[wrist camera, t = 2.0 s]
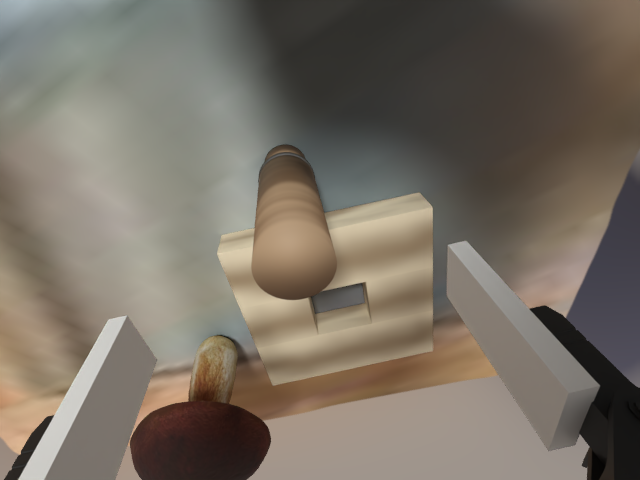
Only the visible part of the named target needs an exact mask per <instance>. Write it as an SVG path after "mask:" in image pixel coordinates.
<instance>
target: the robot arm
mask: <svg viewBox="0 0 640 480" xmlns="http://www.w3.org/2000/svg"><path fill="white" fill-rule="evenodd" d="M447 297H448V299H449V300H450V302H451V303H452V305H453V306H454V308H455V309H456V311H457V312H458V314H459V315H460V317H461V319H462V320H463V322H464V323H465V325H466V326H467V328H468V329H469V331H470V332H471V334H472V335H473V337H474V338H475V340H476V341H477V343H478V344H479V346H480V347H481V349H482V351H483V352H484V354H485V355H486V357H487V358H488V360H489V361H490V363H491V364H492V366H493V367H494V369H495V370H496V372H497V373H498V375H499V376H500V378H501V379H502V381H503V382H504V384H505V386H506V387H507V388H508V390H509V391H510V393H511V395H512V396H513V398H514V399H515V400H516V402H517V404H518V405H519V407H520V408H521V410H522V411H523V413H524V414H525V416H526V417H527V419H528V421H529V422H530V423H531V425H532V427H533V428H534V429H535V431H536V433H537V434H538V436H539V437H540V439H541V440H542V442H543V443H544V445H545V446H546V448H547V449H548V451H551V450H555V449H560V448H564V447H569V446H573V445H575V444H576V442H577V439H578V437H579V434H580V435H581V436H582V437H583V438H584V440H585V441H586V442H587V444H588V445H589V446H590V448H589V450H588V452H587V454H586V456H585V458H584V461H583V464H582V466H583V467H586V468H587V466H588V468H587V480H640V388H638V387H636V386H635V385H634V384H632V383H631V382H630V381H629V380H628V379H627V378H626V377H625V376H624V375H623V374H622V373H621V372H620V371H619V370H618V369H617V368H616V367H615V366H614V365H613V364H612V363H611V362H610V361H609V360H607V358H606V357H605V356H604V355H602V354H601V353H600V352H599V351H598V350H597V349H596V348H595V347H594V346H593V345H592V344H591V343H590V342H589V341H587V340H586V338H585V337H584V336H583V335H582V334H581V333H580V332H579V331H578V330H576V329H575V327H574V326H573V325H572V324H571V323H570V322H569V321H568V320H567V319H566V318H565V317H564V316H563V315H561V314H560V313H558V312H556V311H554V310H552V309H551V308H549V307H547V306H540V307H536V308H531V309H529V308H528V307H527V306H526V305H525V304H524V303H523V302H522V301H521V300H520V298H519V297H518V296H517V295H516V294H515V293H514V292H513V291H512V290H511V289H510V288H509V287H508V285H507V284H506V283H505V282H504V281H503V280H502V279H501V278H500V277H499V276H498V275H497V273H496V272H495V271H494V270H493V269H492V268H491V267H490V266H489V265H488V264H487V263H486V262H485V260H484V259H483V258H482V257H481V256H480V255H479V254H478V253H477V252H476V251H475V250H474V249H473V247H472V246H471V245H470V244H469V243H468V242H467V241H463V242H458V243H454V244H449V245H448V253H447ZM156 361H157V359H156V357H155V356H154V354H153V353H152V351H151V350H150V348H149V347H148V346H147V344H146V343H145V341H144V340H143V338H142V337H141V335H140V334H139V332H138V331H137V329H136V328H135V326H134V325H133V323H132V322H131V320H130V319H129V317H128V316H123V317H118V318H113V319H109V320H108V321H107V323H106V325H105V327H104V328H103V330H102V332H101V334H100V336H99V337H98V339H97V341H96V343H95V344H94V346H93V348H92V350H91V351H90V353H89V355H88V357H87V359H86V360H85V362H84V364H83V366H82V367H81V369H80V371H79V373H78V375H77V376H76V378H75V380H74V382H73V383H72V385H71V387H70V389H69V390H68V392H67V394H66V396H65V398H64V399H63V401H62V403H61V405H60V406H59V408H58V410H57V412H56V414H55V415H53V416H48V417H46V418H45V419H44V421H43V422H42V423H41V424H40V425H39V426H38V427H37V428H36V429H35V430H34V432H33V433H32V434H31V435H30V437H29V439H28V440H27V442H26V444H25V445H24V447H23V449H22V450H21V455H19V456H18V457H17V459H16V461H15V462H14V464H13V466H12V470H11V471H9V472H8V474H7V476H6V478H5V479H4V480H115V479H116V476H117V473H118V471H119V468H120V465H121V462H122V459H123V456H124V453H125V451H126V448H127V445H128V442H129V439H130V436H131V433H132V430H133V428H134V425H135V422H136V419H137V416H138V413H139V410H140V407H141V405H142V402H143V399H144V396H145V393H146V390H147V387H148V384H149V382H150V379H151V376H152V373H153V370H154V367H155V364H156Z"/></svg>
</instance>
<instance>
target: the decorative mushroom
mask: <svg viewBox="0 0 640 480" xmlns="http://www.w3.org/2000/svg"><path fill="white" fill-rule="evenodd" d="M237 356H238V354H237V351H236V347H235V345H234V343H233V342H232V341H231V340H230V339H228V338H226V337H223V336H212V337H209V338H208V339H206V340H205V341H204V342H203V343H202V344H201V345H200V347H199V349H198V350H197V353H196V356H195V360H194V364H193V370H192V376H191V382H190V389H189V401H188V402H182V403H175V404H171V405H168V406H165V407H162V408H160V409H157V410H155V411H153V412H151V413H150V414H149V415H147V416H146V417H145V418H144V419H143V420H142V421H141V423H140V424H139V425H138V426H137V428H136V430H135V431H134V433H133V435H132V437H131V440H130V448H131V454H132V459H133V464H134V467H135V470H136V471H137V473H138V475H139V477H140V478H141V479H142V480H247V479H248V478H249V477H250V476H252V475H253V474H254V472H255V471H256V470H257V469H258V468H259V466H260V464H261V463H262V461H263V460H264V457H265V456H266V454H267V452H268V449H269V446H270V443H271V437H270V432H269V429H268V427H267V426H266V424H265V423H264V422H263V421H262V420H261V419H259V418H258V417H257V416H255V415H253V414H252V413H250V412H248V411H246V410H245V409H242V408H240V407H237V406H234V405H231V404H229V402H230V398H231V394H232V389H233V384H234V380H235V374H236V366H237Z"/></svg>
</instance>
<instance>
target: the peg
mask: <svg viewBox="0 0 640 480" xmlns="http://www.w3.org/2000/svg"><path fill="white" fill-rule="evenodd" d="M258 182H259V187H258V198H257V209H256V220H255V230H254V241H253V252H252V263H251V270H252V275H253V278H254V280H255V282H256V283H257V285H258V286H259V287H260V288H261V289H262V290H263V291H264V292H266V293H268V294H269V295H271V296H273V297H276V298H280V299H285V300H300V299H305V298H309V297H311V296H314V295H316V294H318V293H319V292H321V291H322V290H324V289H325V288H326V287H327V286H328V285H329V284H330V282H331V281H332V279H333V278H334V276H335V273H336V269H337V258H336V255H335V251H334V247H333V244H332V240H331V236H330V233H329V229H328V225H327V222H326V218H325V214H324V211H323V207H322V203H321V200H320V196H319V192H318V189H317V185H316V181H315V175H314V172H313V169H312V167H311V165H310V163H309V162H308V161H307V160H306V159H305V156H304V155H303V153H302V152H301V151H300V150H299V149H298V148H296V147H294V146H291V145H279V146H277V147H275V148H273V149H272V150H271V151H270V152H269V153H268V154H267V156H266V158H265V162H264V164H263V165H262V167H261V169H260V172H259V180H258Z"/></svg>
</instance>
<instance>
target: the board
mask: <svg viewBox="0 0 640 480" xmlns="http://www.w3.org/2000/svg"><path fill="white" fill-rule="evenodd" d="M324 214H325V218H326V222H327V225H328V229H329V233H330V236H331V240H332V244H333V247H334V251H335V255H336V258H337V269H336V273H335V276H334V278H333V279H332V281H331V282H330V284H329V285H328V286H327V287H326V288H325V289H324V290H322V291H325V290H330V289H335V288H339V287H344V286H348V285H353V284H358V283H362V286H363V292H364V299H365V303H363V304H359V305H354V306H349V307H345V308H340V309H336V310H331V311H326V312H322V313H317V314H315V312H314V308H313V304H312V301H311V297H309V298H305V299H300V300H285V299H280V298H276V297H273V296H271V295H269V294H268V293H266V292H264V291H263V290H262V289H261V288H260V287H259V286H258V285H257V283H256V282H255V280H254V278H253V275H252V270H251V263H252V252H253V241H254V230H255V228H253V229H248V230H243V231H239V232H234V233H229V234H225V235H222V236H221V240H220V244H219V248H218V252H217V255H218V257H219V260H220V262H221V264H222V267H223V269H224V272H225V274H226V276H227V279H228V281H229V283H230V286H231V288H232V291H233V293H234V295H235V298H236V300H237V302H238V305H239V307H240V309H241V312H242V314H243V317H244V319H245V321H246V324H247V326H248V328H249V331H250V333H251V336H252V338H253V340H254V343H255V345H256V347H257V350H258V352H259V354H260V357H261V359H262V362H263V364H264V366H265V369H266V371H267V373H268V376H269V378H270V381H271V383H272V385H273V386H274V385H279V384H283V383H288V382H293V381H297V380H302V379H306V378H311V377H316V376H320V375H325V374H329V373H334V372H339V371H343V370H348V369H352V368H357V367H362V366H366V365H371V364H375V363H380V362H385V361H389V360H394V359H398V358H403V357H408V356H412V355H417V354H421V353H426V352H431V351H433V207H432V206H431V205H430V204H429V202H428V201H427V200H426V199H425V198H424V197H423V196H422V195H421V193H420V192H419V193H414V194H409V195H405V196H400V197H395V198H391V199H386V200H382V201H377V202H372V203H368V204H363V205H359V206H354V207H349V208H345V209H340V210H336V211H331V212H326V213H324Z"/></svg>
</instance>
